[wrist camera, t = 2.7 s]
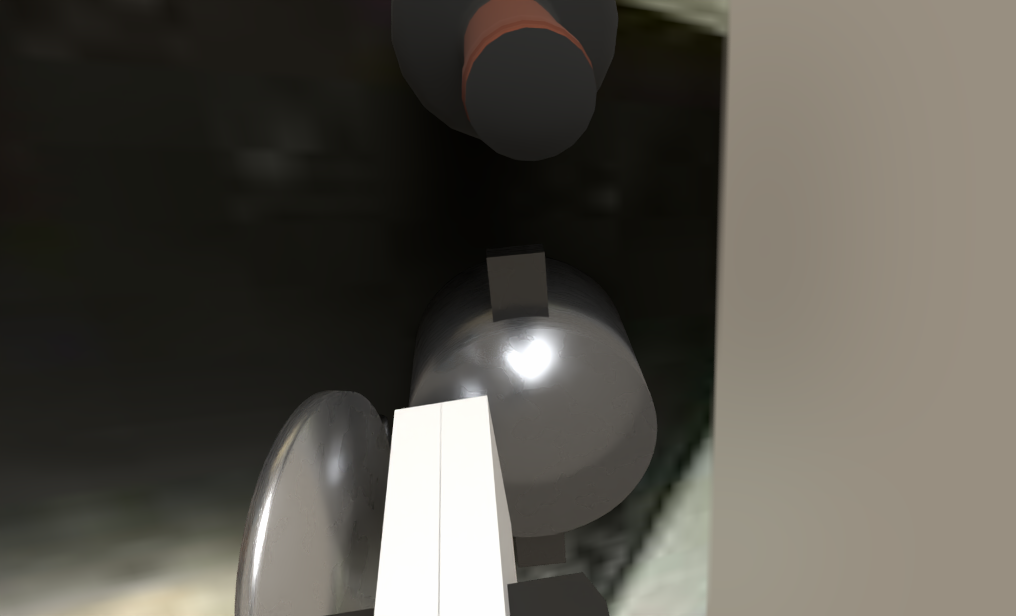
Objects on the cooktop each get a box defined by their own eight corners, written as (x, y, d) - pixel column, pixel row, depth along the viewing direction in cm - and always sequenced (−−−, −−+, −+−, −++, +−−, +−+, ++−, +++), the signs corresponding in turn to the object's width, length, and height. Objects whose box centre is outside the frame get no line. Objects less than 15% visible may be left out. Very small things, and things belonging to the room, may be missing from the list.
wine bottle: (407, -87, 42) (312, -87, 15) (552, -103, 42) (716, -130, 15) (427, 62, 45) (379, 281, 18) (561, 48, 45) (709, 245, 18)
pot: (435, 488, 58) (430, 592, 49) (392, 212, 49) (377, 279, 40) (627, 469, 58) (657, 569, 50) (621, 190, 49) (656, 252, 40)
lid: (414, 552, 49) (386, 550, 49) (373, 324, 42) (341, 324, 42) (308, 828, 34) (269, 823, 35) (220, 551, 27) (172, 548, 28)
